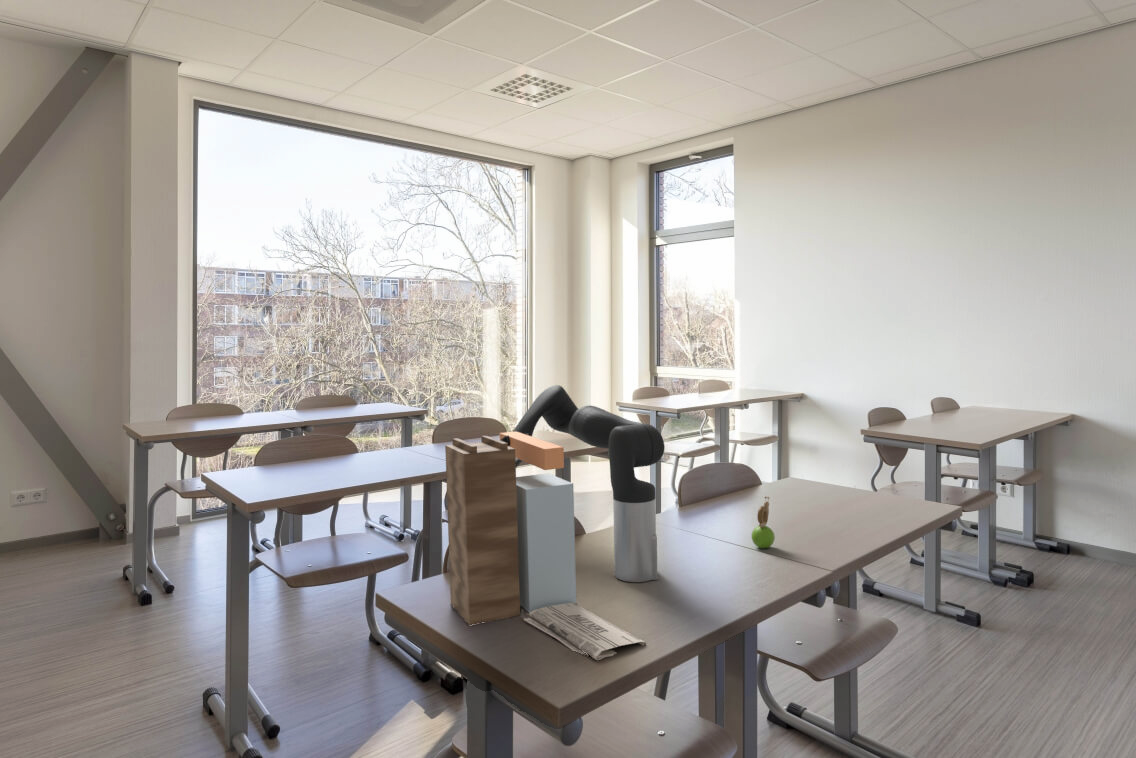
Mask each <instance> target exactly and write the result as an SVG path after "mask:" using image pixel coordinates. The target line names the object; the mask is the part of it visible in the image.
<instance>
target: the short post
mask: <svg viewBox="0 0 1136 758" xmlns="http://www.w3.org/2000/svg"><path fill="white" fill-rule="evenodd" d="M516 492H517V526H518V560H519V595H520V607H521V608H523V609H524V610H525V611H527V612H528V614H529V613H530V612H531V611H533V610H535V609H539V608H543V607H547V606H551V605H559V604H566V603H574V604H577V585H576V583H577V581H576V578H577V577H576V575H577V574H576V540H575V539H576V538H575V537H576V536H575V534H576V533H575V531H576V530H575V503H574V502H575V497H574V494H575V491H574V482H571V481H568V480H565V479H563V478H561V477H558V476H556V475H553V474H550V473H539V474H531V475H522V476H516Z"/></svg>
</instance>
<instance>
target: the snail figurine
mask: <svg viewBox="0 0 1136 758" xmlns="http://www.w3.org/2000/svg"><path fill="white" fill-rule="evenodd" d="M764 499H765V501H764V502H763V505H761V506H760V507H759V508H758V510H757V515H756V516H757V521H758V523H759V524H758V526H756V527H754V529H753V530H752V533H751V540H752V542H753V544H754V545H755V546H756V547H758V548H760V549H768V548H770V547H771V546H772V545H774V542H775V539H776V538H775V537H776V536H775V532H774V531H773V530H772V528H771V527H769V526H767V523H768V521H769V513H770V509H769V508H770V503H769V499H770V496H764Z"/></svg>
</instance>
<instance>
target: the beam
mask: <svg viewBox="0 0 1136 758" xmlns="http://www.w3.org/2000/svg"><path fill="white" fill-rule="evenodd" d="M498 433H499V440H501V439H502V438H504V437H505V436H507V435H509V439H510V446H509V447H512V448H514V449H515V458H517V459H520V460H522V462H524V463H527V464H529V465H532V466H535V468H539V469H541V470H544V471H548V470H549V471H551V470H559V469H564V468H565V459H564V458H565V455H564V451H565V450H564V446H561V445H559V444H555V443H553V442H549V441H546V440H542V439H539V438H538V437H537V438H536V437H534V436H532V437H531V436H528V435H525V434H522V433H519V432H513V431H506V432H498Z"/></svg>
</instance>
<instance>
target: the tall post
mask: <svg viewBox="0 0 1136 758" xmlns="http://www.w3.org/2000/svg"><path fill="white" fill-rule="evenodd" d="M480 438H481V439H480V440H481V441H477V442H468V441H466V440H463V439H460V438H457V437H455V438H452V439H451V441H452V444H446V445H444V447H445V448H444V449H445V452H444V453H445V473H446V474H445V476H446V505H447V509H446V510H447V531H448V534H447V535H448V537H447V538H448V558H449V559H448V561H449V563H448V564H449V586H450V587H449V591H450V592H449V593H450V605H451V604H452V605H453V606H454V607H453V606H452V605H451V606H452V607H453V609H454V610H455V609H456V610H457V611H458V612H459V613H460V614H459V613H458V612H457V611H456V610H455V611H456V612H457V613H458V614H459V615H460V617H461V616H462V617H463V618H464V619H465V620H466V621H465V620H464V619H463V618H462V617H461V618H462V619H463V620H464V621H465V622H466V624H467V623H468V624H469V625H472V624H477V623H482V622H487V623H490V622H489V621H491V622H495V621H494V620H496V621H500V620H499V619H501V620H505V619H510V618H513V617H519V616H521V605H520V595H519V560H518V526H517V492H516V477H517V468H516V458H515V449H514V448H512V447H509V446H508V443H506V442H503V441H500V439H496V438H494V437H491V436H488V435H482V436H481V437H480ZM504 618H505V619H504ZM468 624H467V625H468ZM482 624H483V623H482ZM469 625H468V626H469ZM477 625H478V624H477Z"/></svg>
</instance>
